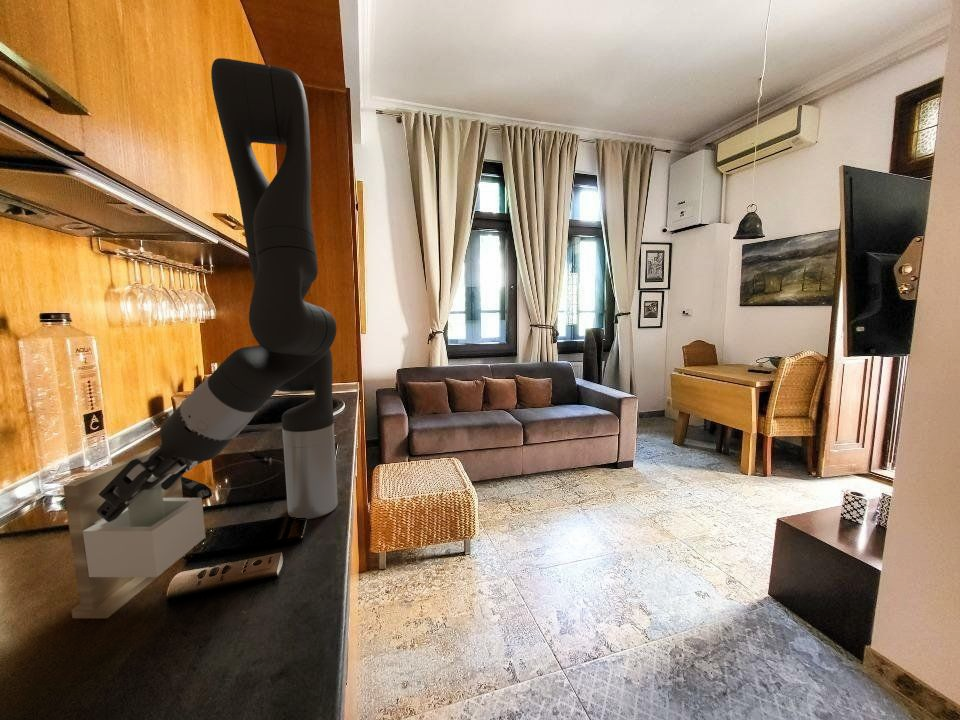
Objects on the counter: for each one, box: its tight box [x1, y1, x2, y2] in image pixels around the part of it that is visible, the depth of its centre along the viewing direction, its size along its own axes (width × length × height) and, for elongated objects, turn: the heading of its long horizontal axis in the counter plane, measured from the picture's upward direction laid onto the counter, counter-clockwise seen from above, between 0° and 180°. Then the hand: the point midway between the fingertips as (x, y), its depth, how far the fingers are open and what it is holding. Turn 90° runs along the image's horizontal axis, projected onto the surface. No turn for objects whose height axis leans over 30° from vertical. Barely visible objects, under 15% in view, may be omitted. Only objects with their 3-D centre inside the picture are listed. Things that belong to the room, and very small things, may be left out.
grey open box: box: [83, 497, 206, 578], centre depth 52 cm, size 9×9×6 cm
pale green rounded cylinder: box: [128, 474, 165, 527], centre depth 52 cm, size 4×4×10 cm
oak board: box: [62, 445, 191, 619], centre depth 56 cm, size 16×4×18 cm, turn 0°
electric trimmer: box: [181, 475, 213, 501], centre depth 85 cm, size 4×16×3 cm, turn 59°
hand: (135, 499), depth 52 cm, fingers open, 8 cm apart
